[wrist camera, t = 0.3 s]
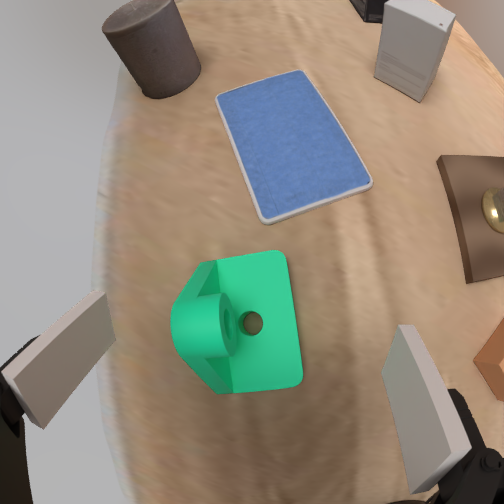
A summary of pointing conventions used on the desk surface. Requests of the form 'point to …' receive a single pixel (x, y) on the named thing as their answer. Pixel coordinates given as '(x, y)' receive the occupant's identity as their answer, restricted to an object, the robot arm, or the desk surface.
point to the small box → (370, 9)
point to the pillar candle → (153, 46)
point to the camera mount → (239, 324)
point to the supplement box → (412, 44)
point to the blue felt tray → (290, 146)
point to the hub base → (477, 211)
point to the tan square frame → (493, 362)
